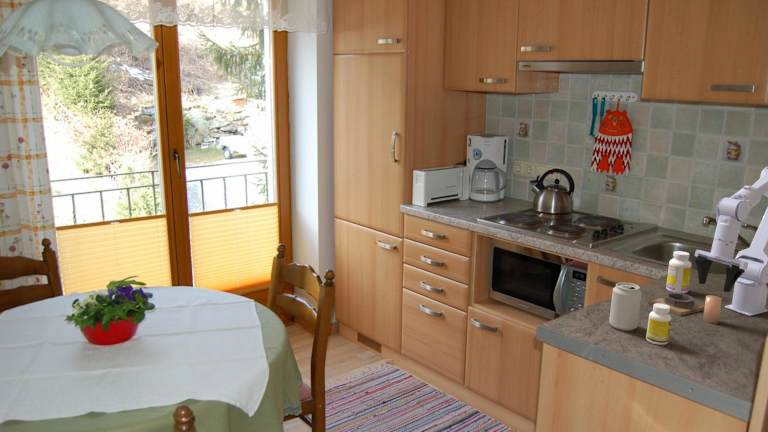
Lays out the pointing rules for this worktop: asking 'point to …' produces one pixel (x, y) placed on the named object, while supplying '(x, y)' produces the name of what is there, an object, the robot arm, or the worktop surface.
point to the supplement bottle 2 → (679, 273)
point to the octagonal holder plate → (679, 303)
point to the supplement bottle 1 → (659, 324)
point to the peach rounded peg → (712, 309)
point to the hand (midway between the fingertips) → (714, 287)
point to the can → (625, 306)
